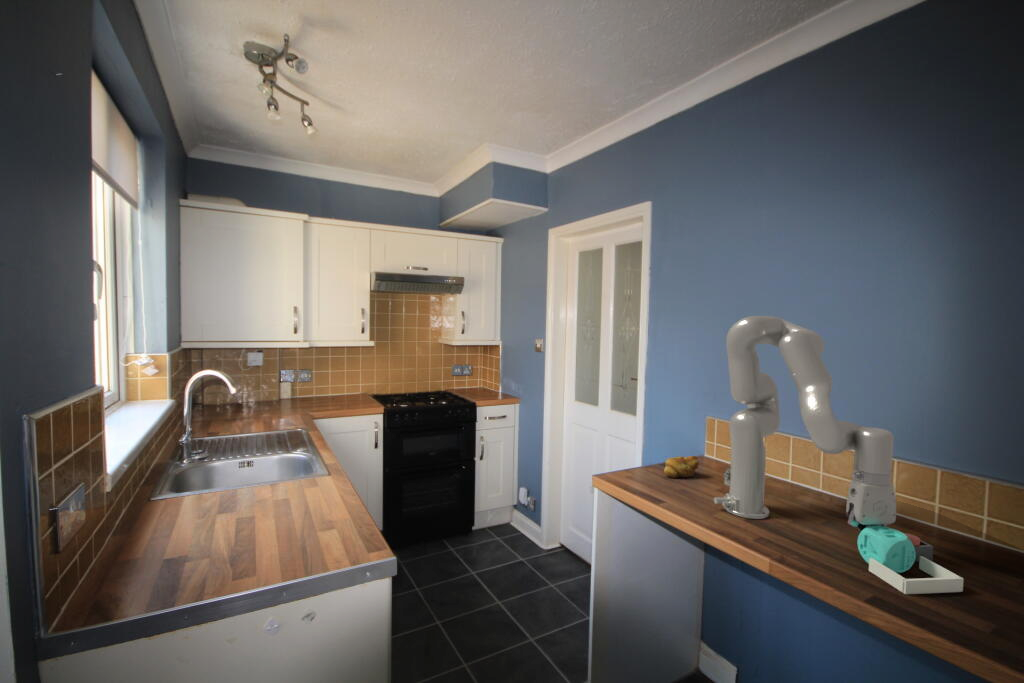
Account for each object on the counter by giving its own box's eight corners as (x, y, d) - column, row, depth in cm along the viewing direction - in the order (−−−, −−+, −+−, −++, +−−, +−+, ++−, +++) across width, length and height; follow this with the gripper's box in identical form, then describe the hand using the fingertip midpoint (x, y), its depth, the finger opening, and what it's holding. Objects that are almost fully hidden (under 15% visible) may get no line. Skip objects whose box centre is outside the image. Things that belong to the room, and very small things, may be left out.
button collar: (908, 562, 114) (909, 547, 114) (885, 549, 120) (886, 534, 120) (932, 561, 115) (933, 546, 114) (908, 548, 121) (909, 534, 121)
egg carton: (744, 490, 161) (745, 478, 160) (721, 485, 165) (722, 474, 165) (749, 481, 169) (749, 470, 169) (727, 476, 174) (727, 466, 173)
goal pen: (905, 594, 101) (906, 580, 101) (868, 570, 110) (869, 558, 110) (962, 591, 102) (963, 578, 102) (921, 568, 111) (922, 556, 111)
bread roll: (670, 481, 168) (671, 459, 167) (655, 472, 177) (656, 451, 177) (701, 478, 171) (702, 457, 171) (684, 469, 181) (685, 449, 180)
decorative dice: (884, 574, 109) (886, 541, 108) (855, 556, 116) (857, 525, 116) (915, 572, 109) (917, 539, 109) (884, 555, 117) (886, 524, 117)
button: (908, 554, 115) (909, 540, 115) (894, 546, 119) (895, 533, 119) (923, 554, 116) (924, 540, 115) (908, 546, 120) (909, 532, 119)
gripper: (856, 483, 113) (852, 556, 114) (912, 481, 114) (908, 554, 115) (832, 472, 120) (828, 541, 121) (885, 471, 122) (881, 539, 123)
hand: (867, 547), depth 118 cm, fingers closed
